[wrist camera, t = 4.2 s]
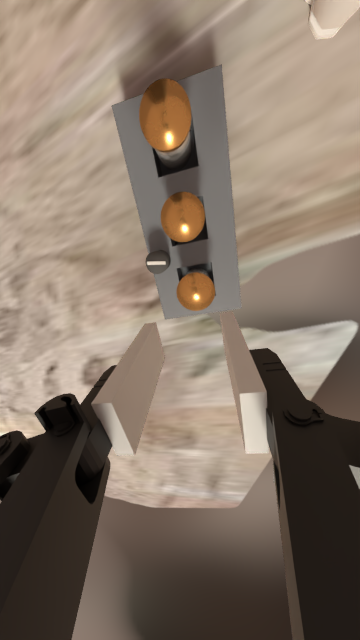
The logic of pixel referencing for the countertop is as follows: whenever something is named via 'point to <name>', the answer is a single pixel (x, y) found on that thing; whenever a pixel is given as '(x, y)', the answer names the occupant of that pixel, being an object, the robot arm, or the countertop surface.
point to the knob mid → (182, 216)
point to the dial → (158, 261)
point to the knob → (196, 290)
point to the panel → (197, 178)
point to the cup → (330, 16)
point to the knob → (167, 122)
